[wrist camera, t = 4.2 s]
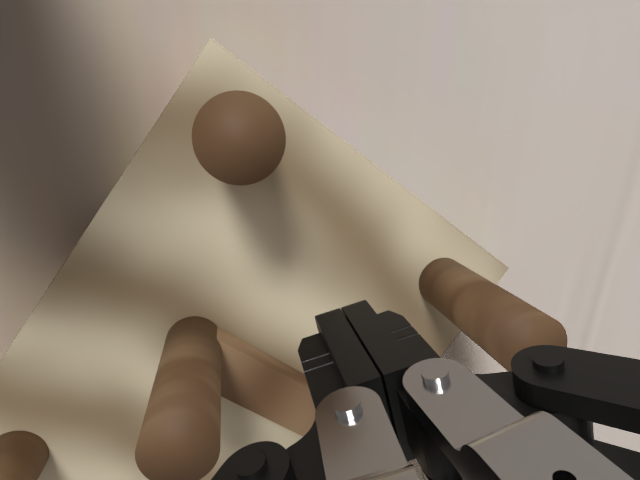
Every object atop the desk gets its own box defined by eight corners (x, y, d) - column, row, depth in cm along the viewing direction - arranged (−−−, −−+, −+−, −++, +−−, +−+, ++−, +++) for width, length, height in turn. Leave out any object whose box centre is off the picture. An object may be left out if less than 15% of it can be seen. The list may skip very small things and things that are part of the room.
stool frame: (260, 556, 26) (277, 765, 18) (-47, 443, 21) (-236, 664, 12) (486, 256, 24) (628, 328, 16) (212, 46, 19) (202, -19, 10)
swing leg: (371, 408, 22) (433, 527, 16) (344, 444, 23) (393, 577, 16) (185, 306, 19) (164, 403, 12) (154, 350, 19) (118, 468, 13)
